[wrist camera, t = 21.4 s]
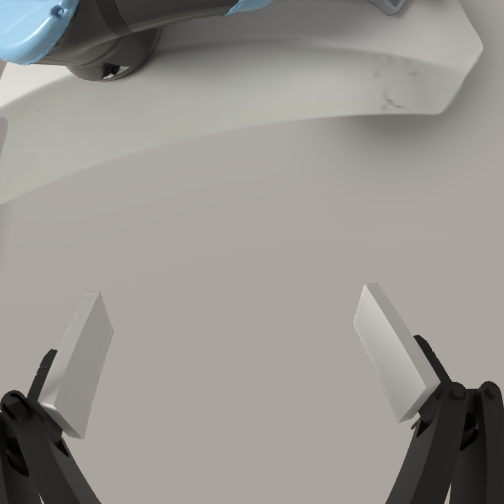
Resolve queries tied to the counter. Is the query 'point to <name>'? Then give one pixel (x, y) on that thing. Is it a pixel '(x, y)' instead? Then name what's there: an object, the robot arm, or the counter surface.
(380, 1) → the tray
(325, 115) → the counter surface
